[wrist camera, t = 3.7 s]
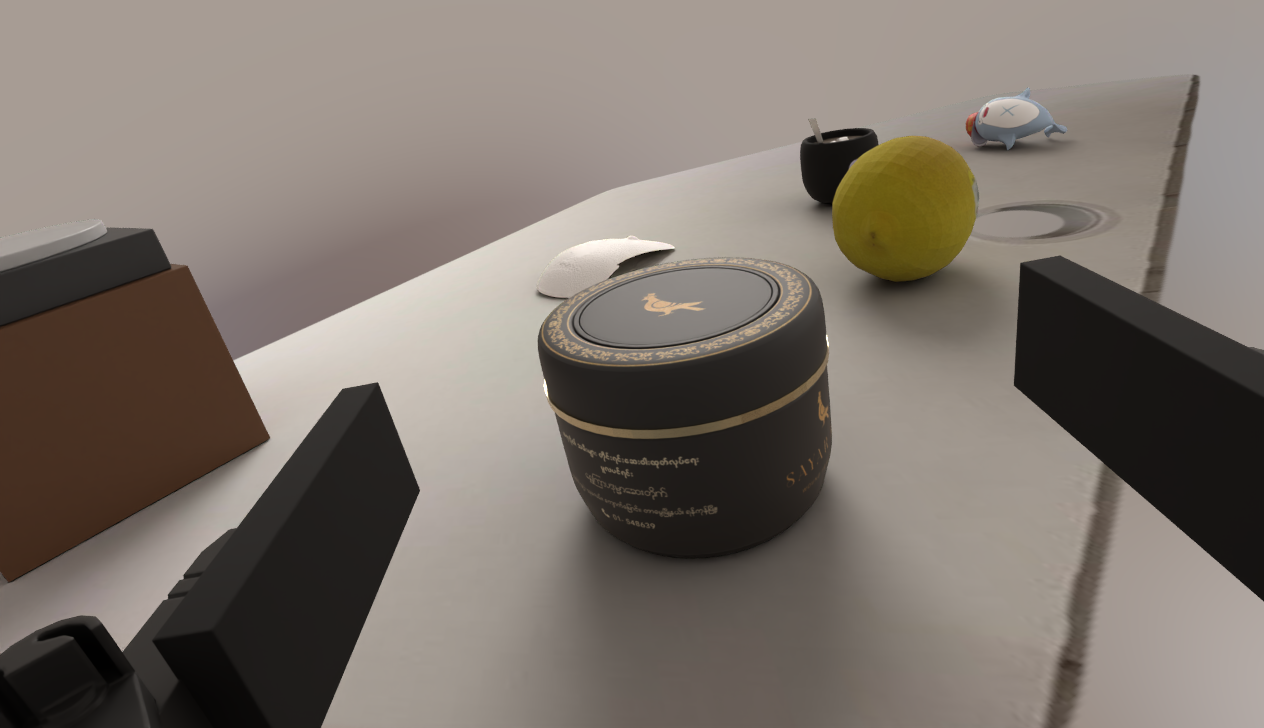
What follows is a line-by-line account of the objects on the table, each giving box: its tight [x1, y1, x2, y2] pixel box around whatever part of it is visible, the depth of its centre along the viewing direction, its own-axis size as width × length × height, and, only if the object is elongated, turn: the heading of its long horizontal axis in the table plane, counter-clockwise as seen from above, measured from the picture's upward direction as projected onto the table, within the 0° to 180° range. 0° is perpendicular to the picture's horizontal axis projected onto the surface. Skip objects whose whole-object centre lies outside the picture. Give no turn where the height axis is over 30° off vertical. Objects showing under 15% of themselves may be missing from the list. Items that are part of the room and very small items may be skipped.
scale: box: [0, 220, 270, 582], centre depth 35 cm, size 12×12×13 cm
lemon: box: [832, 136, 979, 282], centre depth 41 cm, size 11×8×8 cm
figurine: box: [966, 88, 1067, 150], centre depth 65 cm, size 5×8×4 cm
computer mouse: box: [537, 236, 675, 298], centre depth 54 cm, size 7×12×2 cm, turn 141°
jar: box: [538, 258, 832, 558], centre depth 25 cm, size 10×10×8 cm
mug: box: [800, 119, 878, 203], centre depth 59 cm, size 12×6×8 cm, turn 131°
